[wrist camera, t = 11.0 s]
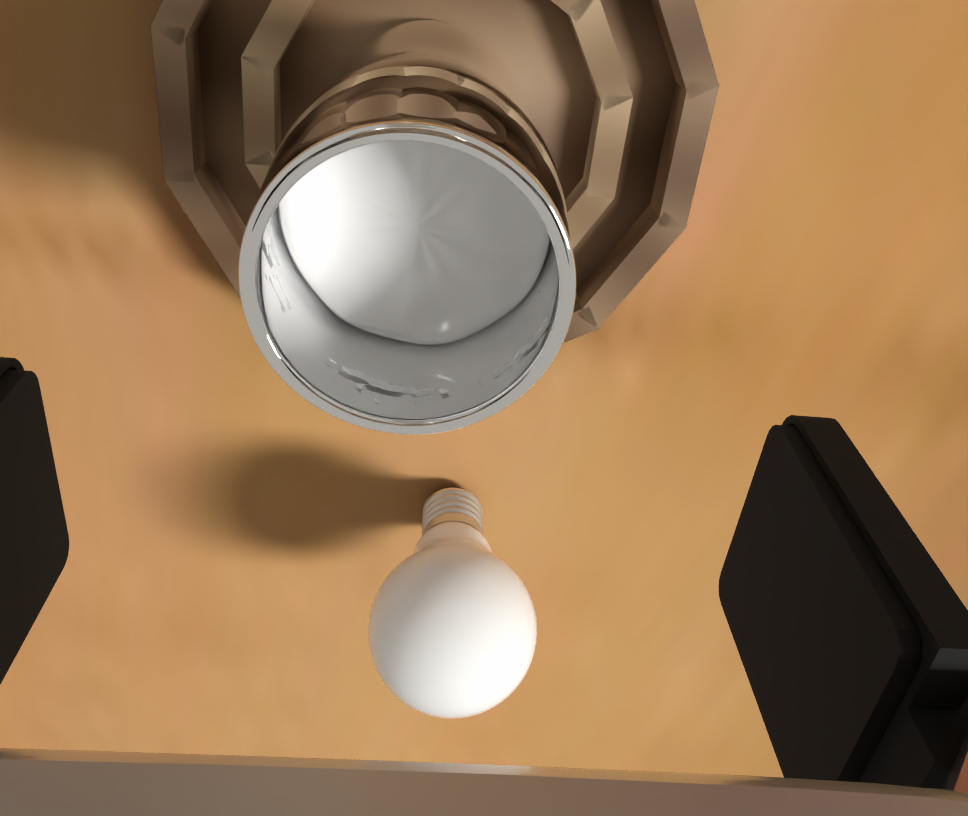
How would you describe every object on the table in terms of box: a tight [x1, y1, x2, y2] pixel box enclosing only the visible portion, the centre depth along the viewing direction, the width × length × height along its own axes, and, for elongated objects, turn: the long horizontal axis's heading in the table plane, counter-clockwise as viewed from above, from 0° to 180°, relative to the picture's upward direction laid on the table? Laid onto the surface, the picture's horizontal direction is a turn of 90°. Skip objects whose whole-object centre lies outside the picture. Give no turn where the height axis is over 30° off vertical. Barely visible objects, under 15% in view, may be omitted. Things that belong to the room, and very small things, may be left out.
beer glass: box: [238, 20, 576, 435], centre depth 23 cm, size 7×7×15 cm
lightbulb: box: [368, 488, 537, 719], centre depth 35 cm, size 6×6×11 cm
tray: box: [151, 0, 719, 343], centre depth 30 cm, size 18×18×3 cm
